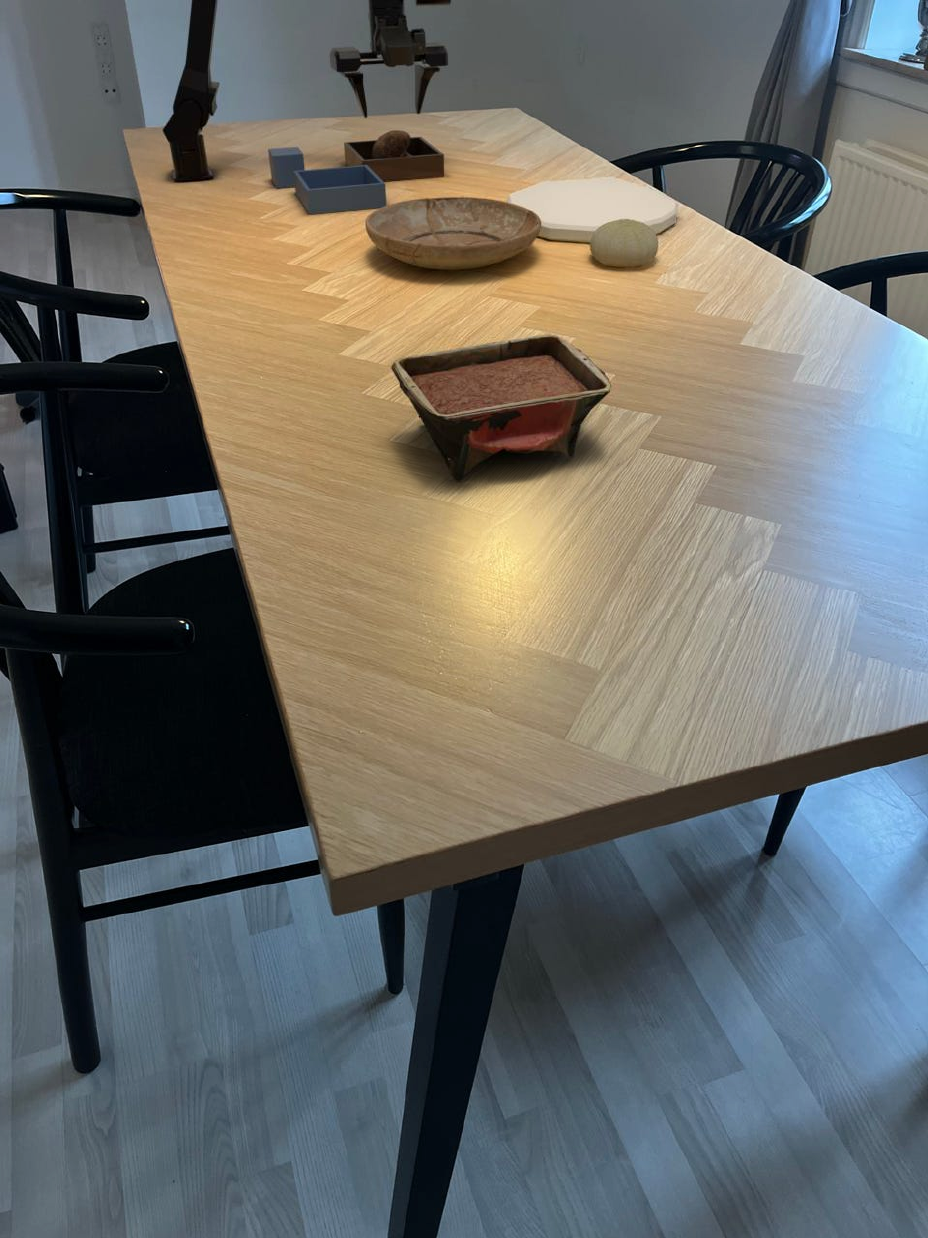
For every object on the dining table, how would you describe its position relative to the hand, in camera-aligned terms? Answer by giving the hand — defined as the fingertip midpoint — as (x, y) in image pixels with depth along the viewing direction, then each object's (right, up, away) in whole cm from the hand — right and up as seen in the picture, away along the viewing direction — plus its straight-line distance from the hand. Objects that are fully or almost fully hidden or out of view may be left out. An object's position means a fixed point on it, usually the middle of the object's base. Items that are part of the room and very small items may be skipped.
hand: (391, 115), depth 160 cm
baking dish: (+15, -69, -73) cm, 102 cm away
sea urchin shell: (+34, -37, -33) cm, 60 cm away
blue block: (-17, -12, -1) cm, 21 cm away
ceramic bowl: (+11, -36, -31) cm, 49 cm away
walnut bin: (0, -7, +5) cm, 9 cm away
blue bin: (-8, -19, -10) cm, 22 cm away
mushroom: (0, -7, +5) cm, 8 cm away
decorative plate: (+32, -25, -18) cm, 44 cm away
